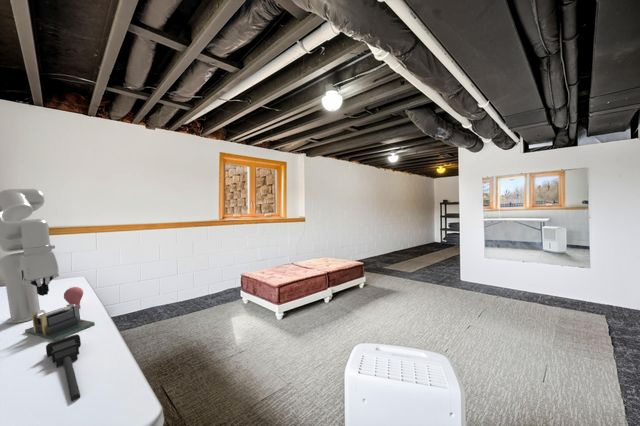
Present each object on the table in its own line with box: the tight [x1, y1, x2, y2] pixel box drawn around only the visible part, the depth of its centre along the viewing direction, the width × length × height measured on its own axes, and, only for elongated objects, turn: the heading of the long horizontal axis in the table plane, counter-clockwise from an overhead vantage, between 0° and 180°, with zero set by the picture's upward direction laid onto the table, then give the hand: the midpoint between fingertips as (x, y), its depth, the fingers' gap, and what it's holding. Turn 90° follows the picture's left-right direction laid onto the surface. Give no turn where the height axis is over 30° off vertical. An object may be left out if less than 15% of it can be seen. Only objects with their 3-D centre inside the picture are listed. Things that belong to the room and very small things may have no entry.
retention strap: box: [37, 304, 75, 319], centre depth 112 cm, size 3×12×2 cm, turn 157°
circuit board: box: [24, 303, 96, 342], centre depth 112 cm, size 24×13×9 cm, turn 67°
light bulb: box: [63, 286, 84, 310], centre depth 131 cm, size 7×7×12 cm
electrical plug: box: [45, 333, 82, 402], centre depth 83 cm, size 9×42×5 cm, turn 47°
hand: (43, 294), depth 108 cm, fingers closed
